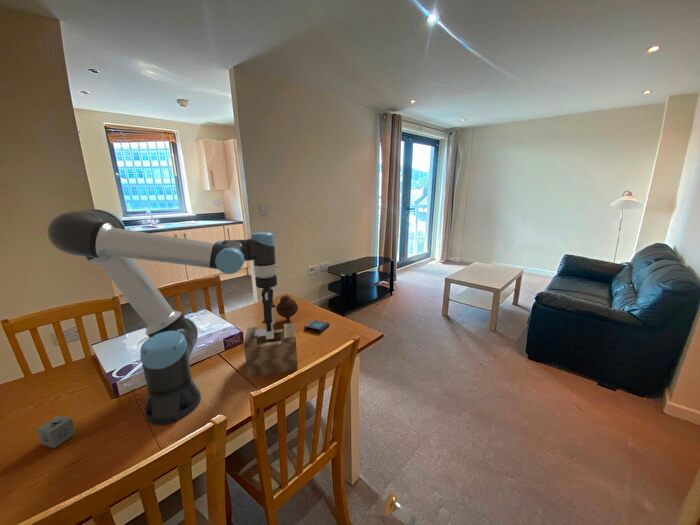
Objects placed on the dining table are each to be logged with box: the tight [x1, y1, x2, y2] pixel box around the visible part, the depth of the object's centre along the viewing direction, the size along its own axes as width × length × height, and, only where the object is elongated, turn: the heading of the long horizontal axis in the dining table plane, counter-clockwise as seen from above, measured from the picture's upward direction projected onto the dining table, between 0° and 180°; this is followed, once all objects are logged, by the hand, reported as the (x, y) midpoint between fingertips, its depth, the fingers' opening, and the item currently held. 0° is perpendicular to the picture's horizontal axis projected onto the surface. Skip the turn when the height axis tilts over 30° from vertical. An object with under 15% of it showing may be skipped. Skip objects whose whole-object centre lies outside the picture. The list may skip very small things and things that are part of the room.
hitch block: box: [243, 322, 299, 378], centre depth 113 cm, size 18×12×14 cm, turn 103°
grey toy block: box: [36, 415, 76, 449], centre depth 80 cm, size 5×5×5 cm
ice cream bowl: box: [275, 294, 299, 323], centre depth 148 cm, size 11×11×15 cm
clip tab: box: [252, 328, 266, 337], centre depth 110 cm, size 6×5×1 cm
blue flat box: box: [303, 319, 330, 334], centre depth 143 cm, size 9×3×11 cm
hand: (270, 330), depth 111 cm, fingers open, 11 cm apart
